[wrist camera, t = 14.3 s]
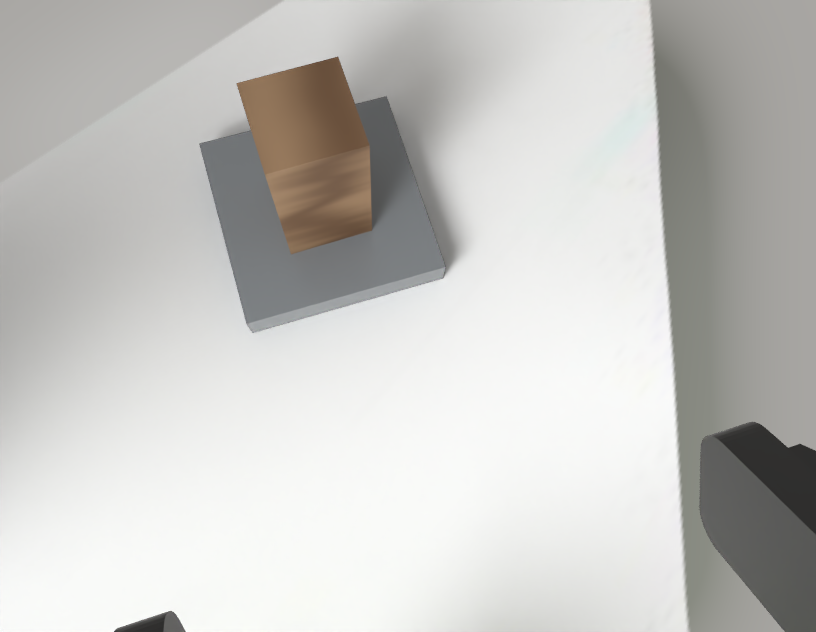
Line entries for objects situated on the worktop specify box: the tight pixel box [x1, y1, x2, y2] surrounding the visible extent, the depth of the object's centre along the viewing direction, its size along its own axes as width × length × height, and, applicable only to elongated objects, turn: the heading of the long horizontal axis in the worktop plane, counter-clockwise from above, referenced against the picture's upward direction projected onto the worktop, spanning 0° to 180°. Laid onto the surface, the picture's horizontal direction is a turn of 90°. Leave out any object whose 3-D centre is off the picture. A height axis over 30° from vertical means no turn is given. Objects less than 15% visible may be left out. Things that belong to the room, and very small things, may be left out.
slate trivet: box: [200, 97, 446, 333], centre depth 44 cm, size 12×12×2 cm
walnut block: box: [237, 57, 372, 254], centre depth 38 cm, size 5×5×10 cm
